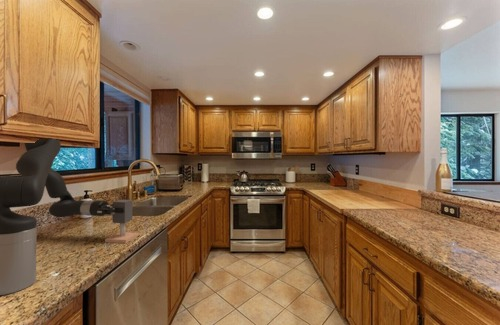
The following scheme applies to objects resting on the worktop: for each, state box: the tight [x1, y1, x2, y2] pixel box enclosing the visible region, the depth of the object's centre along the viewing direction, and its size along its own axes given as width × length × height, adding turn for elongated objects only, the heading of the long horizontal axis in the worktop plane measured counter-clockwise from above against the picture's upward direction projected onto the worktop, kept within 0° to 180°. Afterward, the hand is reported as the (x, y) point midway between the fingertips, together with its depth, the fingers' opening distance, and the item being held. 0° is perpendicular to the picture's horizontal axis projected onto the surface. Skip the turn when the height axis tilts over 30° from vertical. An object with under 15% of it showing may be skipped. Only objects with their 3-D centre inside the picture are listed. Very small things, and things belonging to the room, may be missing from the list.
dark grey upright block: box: [112, 199, 134, 224], centre depth 104 cm, size 6×6×10 cm
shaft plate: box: [104, 222, 139, 244], centre depth 104 cm, size 10×10×10 cm
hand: (127, 209), depth 104 cm, fingers closed on dark grey upright block, 6 cm apart
